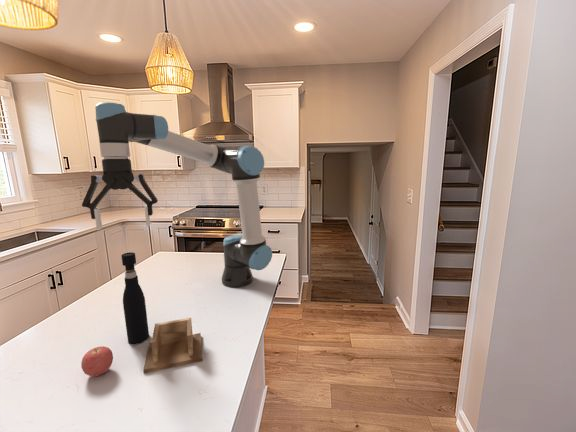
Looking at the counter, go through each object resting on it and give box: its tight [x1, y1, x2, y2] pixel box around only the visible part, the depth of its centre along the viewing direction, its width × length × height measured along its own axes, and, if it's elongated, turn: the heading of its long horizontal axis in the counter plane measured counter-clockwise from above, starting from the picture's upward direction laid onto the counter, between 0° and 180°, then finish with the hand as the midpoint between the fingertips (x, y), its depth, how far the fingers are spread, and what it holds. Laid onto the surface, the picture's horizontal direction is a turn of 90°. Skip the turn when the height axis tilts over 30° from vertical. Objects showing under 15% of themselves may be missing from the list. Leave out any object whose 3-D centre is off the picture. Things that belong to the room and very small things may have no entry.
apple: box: [80, 345, 114, 377], centre depth 82 cm, size 7×7×8 cm
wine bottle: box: [120, 251, 150, 345], centre depth 95 cm, size 6×6×30 cm
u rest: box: [142, 317, 203, 374], centre depth 90 cm, size 16×13×8 cm
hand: (124, 227), depth 90 cm, fingers open, 13 cm apart
